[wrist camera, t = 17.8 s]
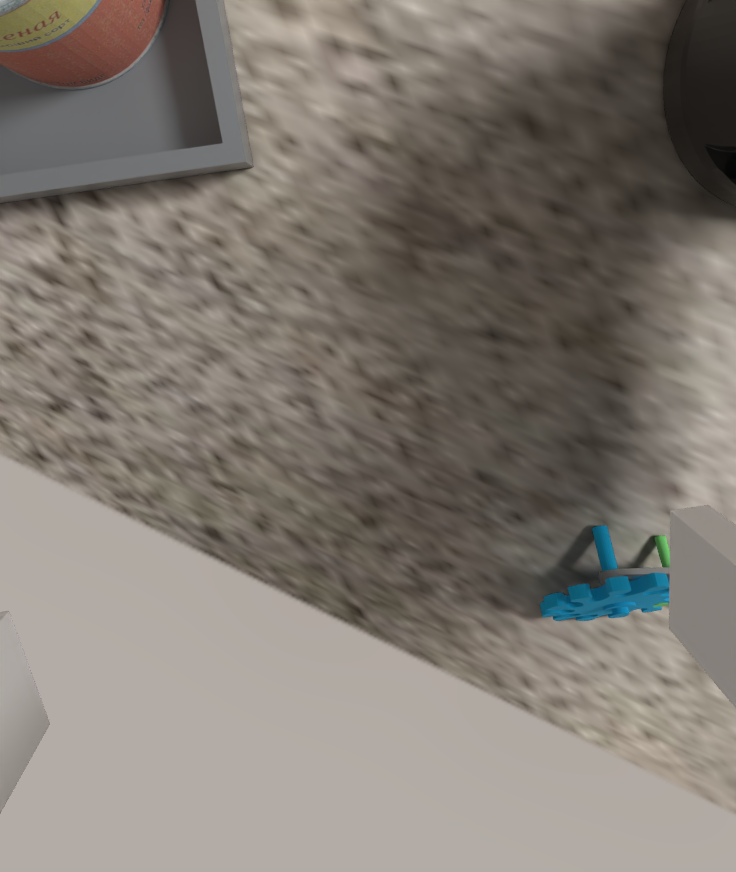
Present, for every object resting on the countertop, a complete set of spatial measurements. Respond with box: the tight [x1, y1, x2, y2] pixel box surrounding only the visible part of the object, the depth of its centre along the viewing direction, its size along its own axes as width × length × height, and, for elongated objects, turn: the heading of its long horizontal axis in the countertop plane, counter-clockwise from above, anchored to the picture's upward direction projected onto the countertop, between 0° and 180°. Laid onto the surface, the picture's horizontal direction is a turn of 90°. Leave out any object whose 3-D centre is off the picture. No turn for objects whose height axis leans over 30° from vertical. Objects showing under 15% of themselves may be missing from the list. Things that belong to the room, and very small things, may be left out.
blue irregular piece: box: [540, 526, 670, 621], centre depth 44 cm, size 11×6×10 cm
